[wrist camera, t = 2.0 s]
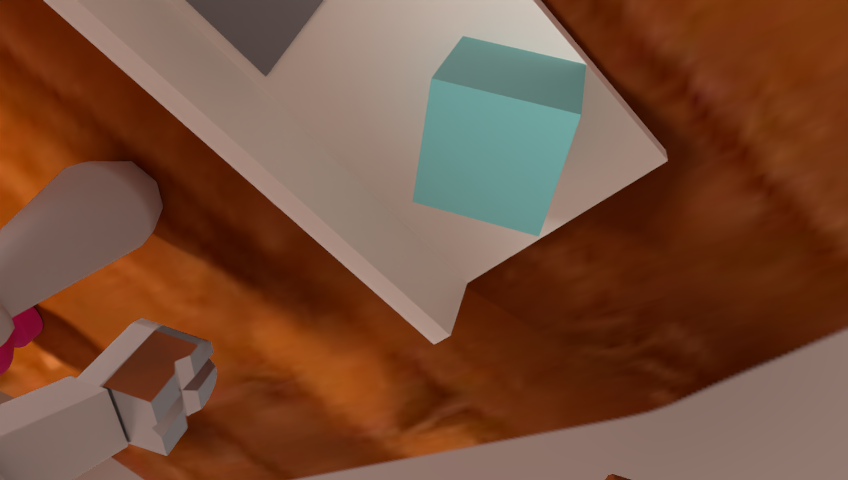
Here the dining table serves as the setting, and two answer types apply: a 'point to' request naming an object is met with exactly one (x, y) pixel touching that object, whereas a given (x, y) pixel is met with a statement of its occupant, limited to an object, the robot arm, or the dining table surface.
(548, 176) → the cube
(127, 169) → the salt shaker
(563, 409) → the dining table surface
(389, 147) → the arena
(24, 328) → the pepper mill
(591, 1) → the dining table surface
